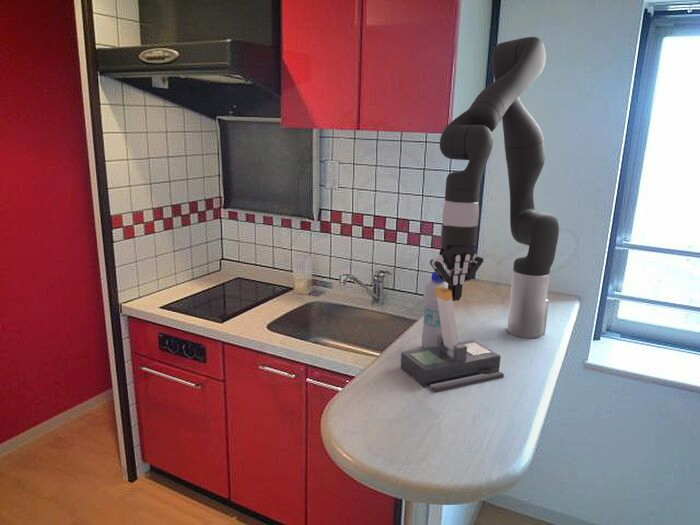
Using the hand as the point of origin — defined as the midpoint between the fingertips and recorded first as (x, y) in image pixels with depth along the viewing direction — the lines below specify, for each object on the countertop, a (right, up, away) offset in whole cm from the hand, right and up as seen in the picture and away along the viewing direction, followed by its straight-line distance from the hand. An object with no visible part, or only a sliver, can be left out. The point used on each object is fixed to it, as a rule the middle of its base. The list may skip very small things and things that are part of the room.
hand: (453, 299), depth 115 cm
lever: (0, -11, +3) cm, 11 cm away
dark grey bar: (+3, -18, -1) cm, 18 cm away
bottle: (-2, -13, +16) cm, 21 cm away
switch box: (0, -16, +4) cm, 17 cm away
